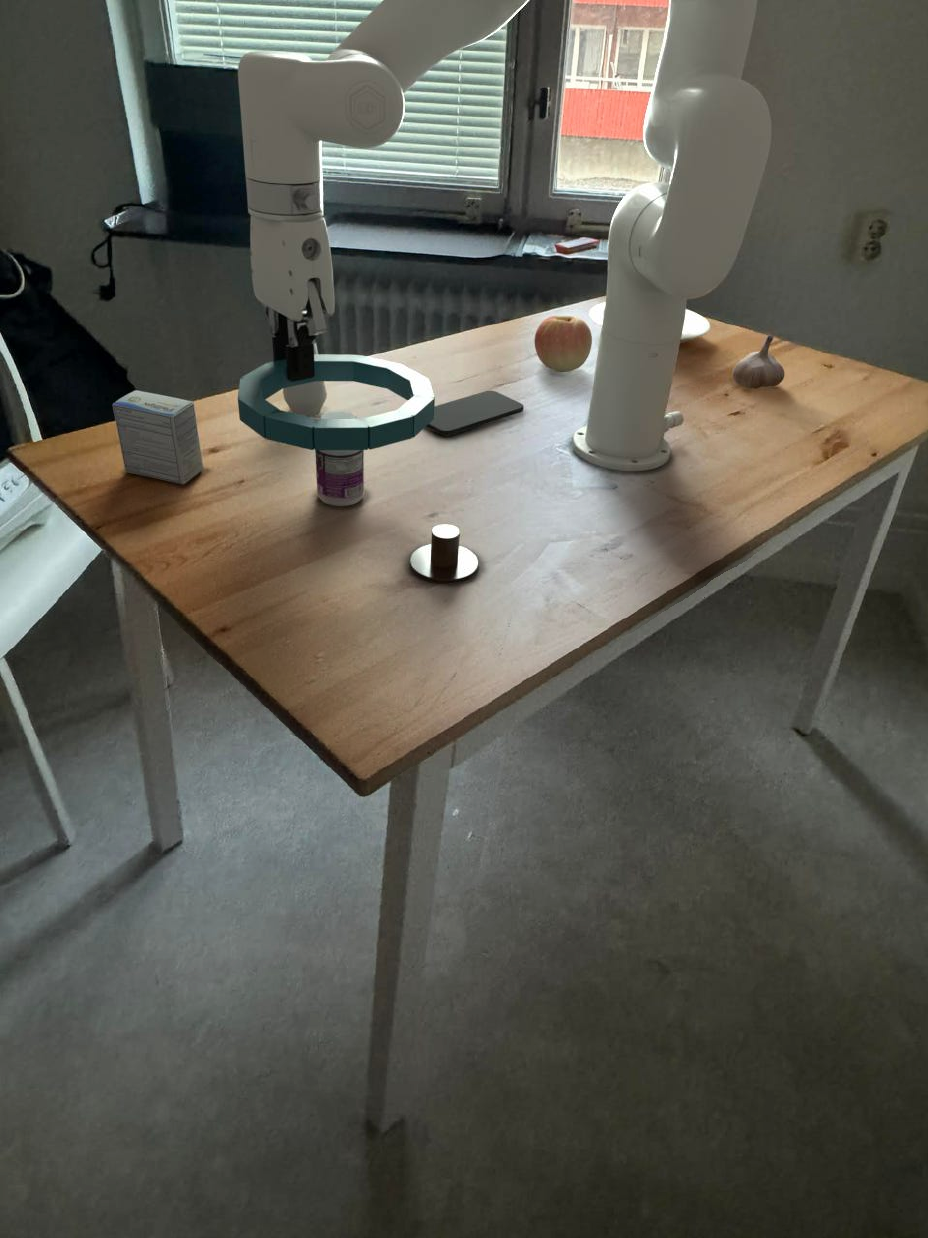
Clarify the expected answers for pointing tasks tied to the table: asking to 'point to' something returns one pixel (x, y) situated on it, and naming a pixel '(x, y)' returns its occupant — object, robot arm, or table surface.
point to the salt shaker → (306, 394)
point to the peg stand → (444, 558)
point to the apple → (563, 343)
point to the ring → (337, 431)
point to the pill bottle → (340, 470)
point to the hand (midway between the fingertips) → (294, 373)
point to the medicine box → (158, 436)
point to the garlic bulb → (759, 369)
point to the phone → (472, 412)
